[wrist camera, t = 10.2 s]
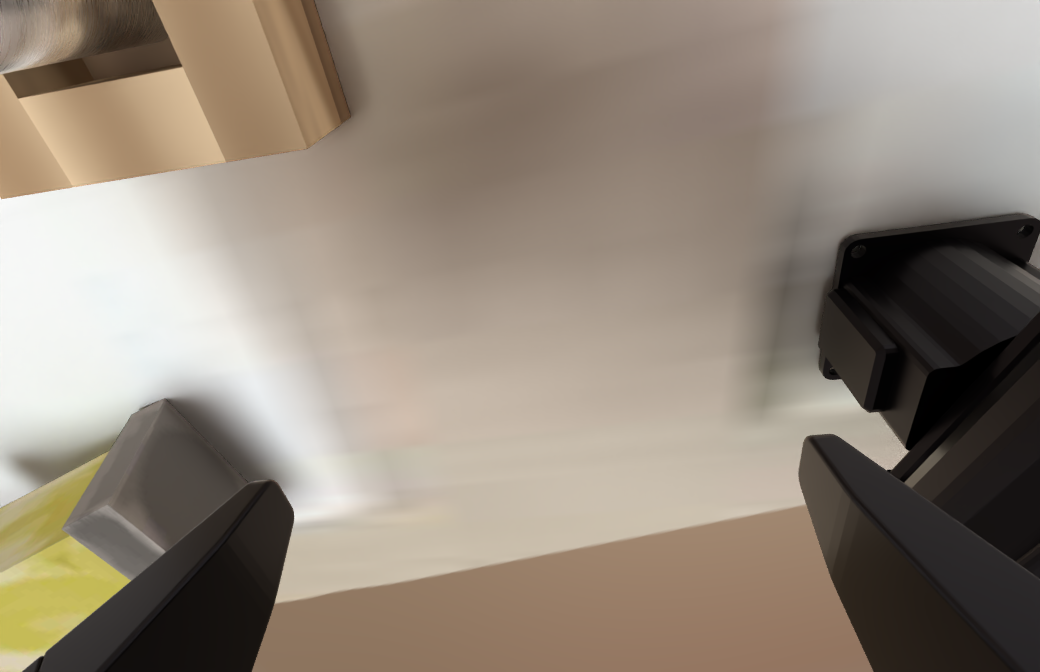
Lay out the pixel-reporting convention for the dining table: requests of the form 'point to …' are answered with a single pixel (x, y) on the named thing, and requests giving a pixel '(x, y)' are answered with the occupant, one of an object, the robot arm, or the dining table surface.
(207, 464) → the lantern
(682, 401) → the dining table surface
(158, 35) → the pin
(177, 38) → the bore block
